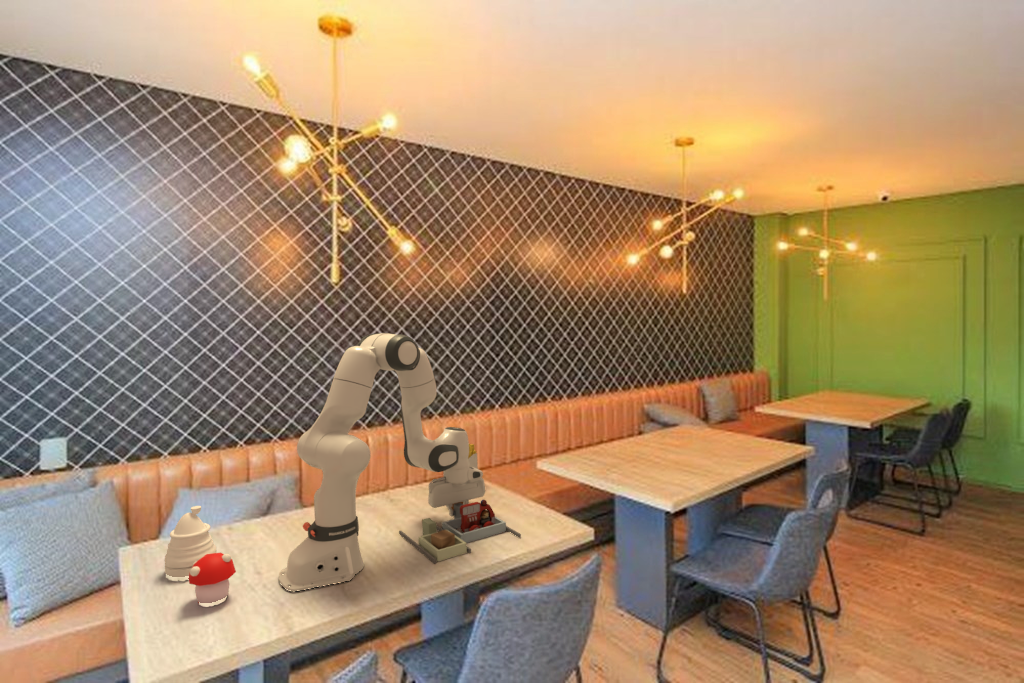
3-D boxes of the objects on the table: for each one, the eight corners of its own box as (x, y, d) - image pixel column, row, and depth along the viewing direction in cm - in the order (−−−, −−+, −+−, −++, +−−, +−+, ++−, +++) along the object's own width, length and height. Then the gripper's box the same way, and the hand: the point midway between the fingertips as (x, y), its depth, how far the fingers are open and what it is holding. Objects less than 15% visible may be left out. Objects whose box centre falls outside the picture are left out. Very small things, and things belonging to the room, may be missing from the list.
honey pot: (220, 557, 169) (216, 498, 167) (214, 576, 157) (210, 512, 155) (170, 565, 164) (166, 504, 163) (160, 585, 152) (156, 520, 151)
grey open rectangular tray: (460, 544, 174) (460, 525, 173) (435, 526, 188) (434, 508, 188) (506, 531, 183) (505, 513, 183) (478, 515, 198) (477, 498, 197)
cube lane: (437, 561, 163) (436, 541, 162) (412, 541, 177) (411, 522, 177) (466, 552, 168) (466, 533, 167) (439, 533, 182) (439, 515, 182)
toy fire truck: (500, 532, 183) (499, 500, 182) (466, 541, 176) (466, 509, 175) (489, 525, 188) (488, 494, 188) (456, 534, 182) (455, 502, 181)
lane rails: (434, 563, 161) (434, 559, 161) (399, 534, 182) (399, 530, 182) (520, 537, 178) (520, 533, 178) (479, 513, 199) (479, 510, 199)
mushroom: (179, 611, 139) (176, 564, 138) (205, 589, 149) (202, 544, 149) (221, 611, 138) (219, 564, 137) (245, 589, 149) (242, 544, 148)
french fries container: (468, 492, 221) (467, 447, 220) (453, 486, 229) (451, 442, 228) (478, 490, 224) (477, 445, 223) (462, 483, 232) (461, 440, 231)
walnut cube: (441, 555, 166) (441, 539, 166) (431, 550, 170) (431, 534, 170) (455, 550, 170) (454, 534, 170) (444, 545, 174) (444, 529, 173)
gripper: (432, 482, 183) (434, 524, 184) (486, 471, 194) (487, 510, 195) (424, 477, 188) (425, 518, 189) (477, 467, 200) (478, 505, 201)
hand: (457, 514), depth 192 cm, fingers closed on grey open rectangular tray, 2 cm apart
